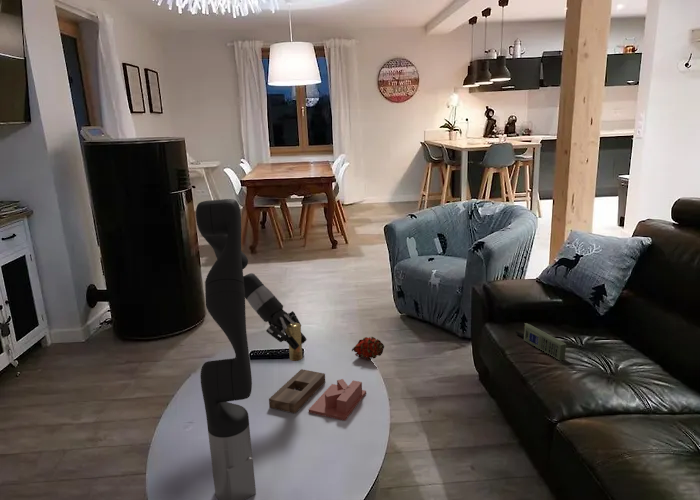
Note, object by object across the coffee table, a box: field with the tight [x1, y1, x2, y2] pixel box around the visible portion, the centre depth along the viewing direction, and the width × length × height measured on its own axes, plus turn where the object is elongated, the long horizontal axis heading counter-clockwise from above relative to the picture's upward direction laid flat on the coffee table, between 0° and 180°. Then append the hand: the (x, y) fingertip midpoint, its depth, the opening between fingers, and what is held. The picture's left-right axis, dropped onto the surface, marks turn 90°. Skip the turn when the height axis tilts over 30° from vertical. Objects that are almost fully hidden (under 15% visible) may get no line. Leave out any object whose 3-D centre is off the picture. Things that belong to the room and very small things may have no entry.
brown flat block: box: [268, 368, 326, 414], centre depth 159 cm, size 9×20×3 cm, turn 156°
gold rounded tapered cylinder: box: [288, 323, 303, 362], centre depth 155 cm, size 4×4×11 cm
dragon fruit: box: [351, 336, 385, 361], centre depth 181 cm, size 8×8×12 cm
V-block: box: [308, 378, 367, 422], centre depth 153 cm, size 12×16×5 cm
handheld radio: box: [515, 322, 567, 362], centre depth 186 cm, size 7×3×25 cm
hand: (300, 344), depth 154 cm, fingers closed on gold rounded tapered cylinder, 4 cm apart
